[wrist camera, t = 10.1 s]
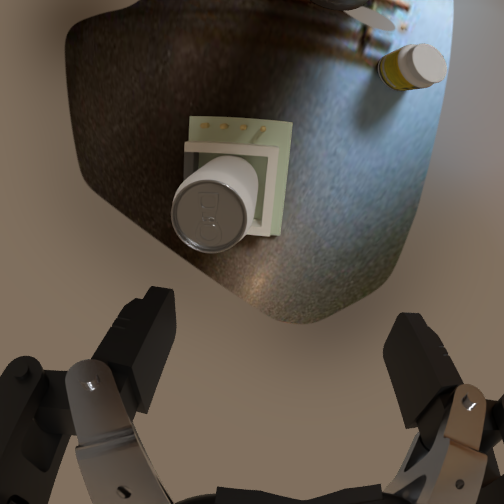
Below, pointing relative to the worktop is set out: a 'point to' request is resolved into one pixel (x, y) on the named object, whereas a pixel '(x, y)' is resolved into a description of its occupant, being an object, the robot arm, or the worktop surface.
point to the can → (216, 204)
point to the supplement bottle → (412, 67)
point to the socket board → (252, 150)
